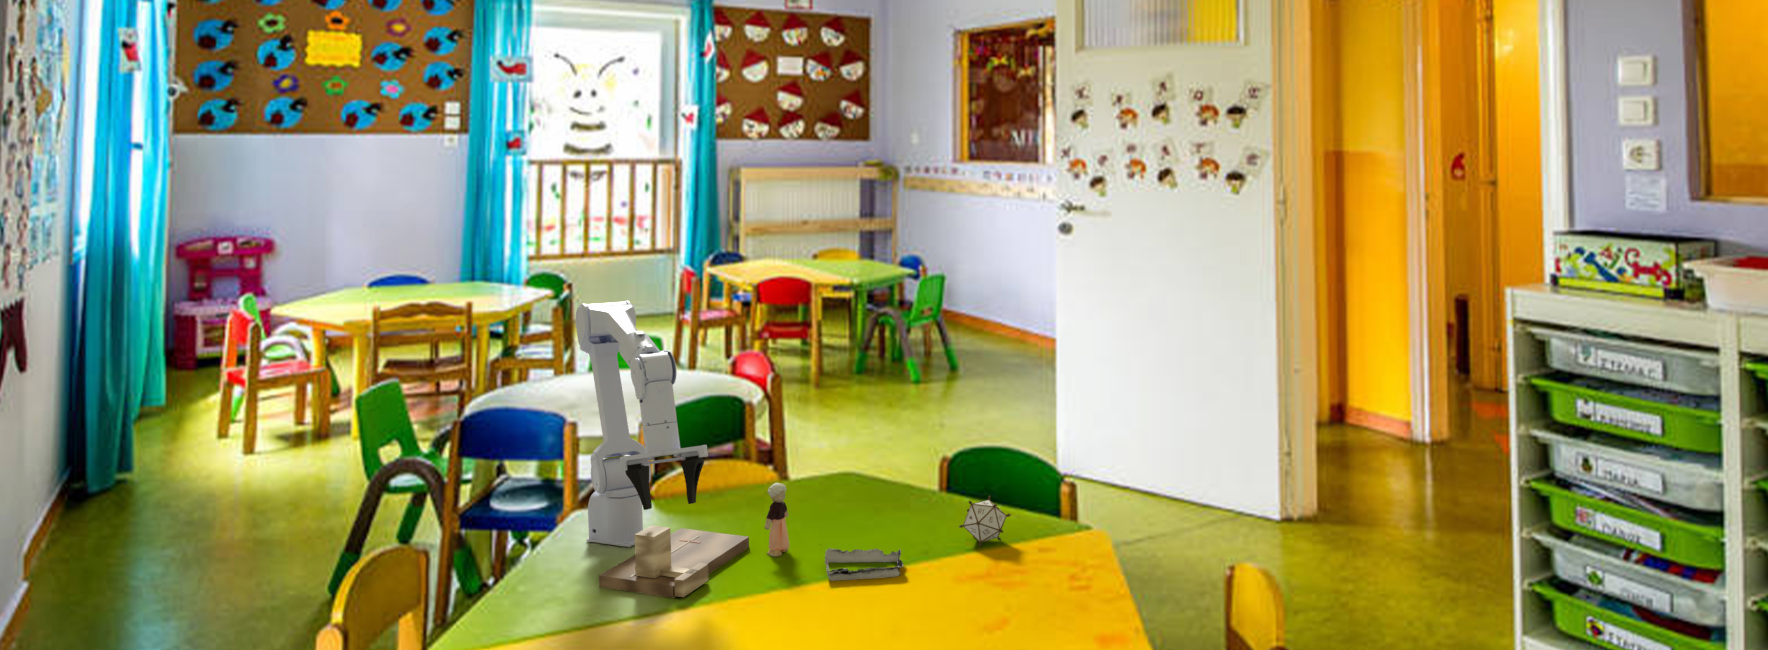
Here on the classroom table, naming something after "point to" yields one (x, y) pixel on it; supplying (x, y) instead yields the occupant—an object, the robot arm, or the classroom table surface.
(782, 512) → the grandmother figurine
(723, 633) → the classroom table surface
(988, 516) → the game die
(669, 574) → the beige l-shaped block
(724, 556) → the board
